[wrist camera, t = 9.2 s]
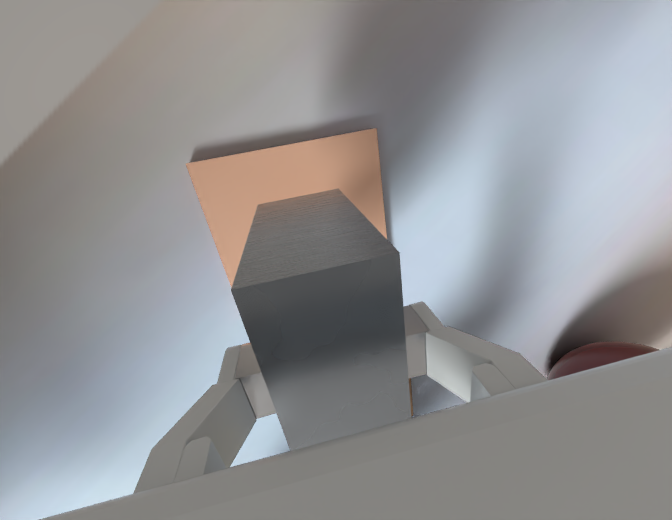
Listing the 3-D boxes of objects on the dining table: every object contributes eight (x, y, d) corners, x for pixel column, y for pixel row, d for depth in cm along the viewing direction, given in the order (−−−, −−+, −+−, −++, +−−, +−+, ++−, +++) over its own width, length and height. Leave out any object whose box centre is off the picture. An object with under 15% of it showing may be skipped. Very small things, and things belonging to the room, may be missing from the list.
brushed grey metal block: (257, 204, 14) (230, 289, 7) (338, 188, 14) (399, 252, 7) (294, 334, 18) (303, 486, 10) (358, 318, 18) (414, 454, 10)
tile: (245, 316, 24) (244, 322, 23) (189, 162, 18) (185, 163, 18) (388, 282, 25) (391, 287, 24) (373, 128, 19) (376, 128, 19)
